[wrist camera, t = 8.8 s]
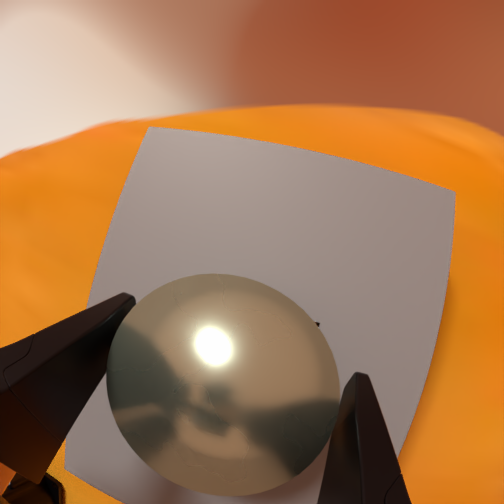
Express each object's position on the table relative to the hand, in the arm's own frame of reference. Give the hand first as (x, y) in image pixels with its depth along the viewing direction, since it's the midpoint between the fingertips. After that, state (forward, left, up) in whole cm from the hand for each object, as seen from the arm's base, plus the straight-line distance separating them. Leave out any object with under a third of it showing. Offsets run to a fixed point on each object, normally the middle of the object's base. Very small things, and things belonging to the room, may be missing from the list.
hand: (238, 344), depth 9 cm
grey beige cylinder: (-1, 0, -8) cm, 8 cm away
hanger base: (-1, 0, -9) cm, 9 cm away
